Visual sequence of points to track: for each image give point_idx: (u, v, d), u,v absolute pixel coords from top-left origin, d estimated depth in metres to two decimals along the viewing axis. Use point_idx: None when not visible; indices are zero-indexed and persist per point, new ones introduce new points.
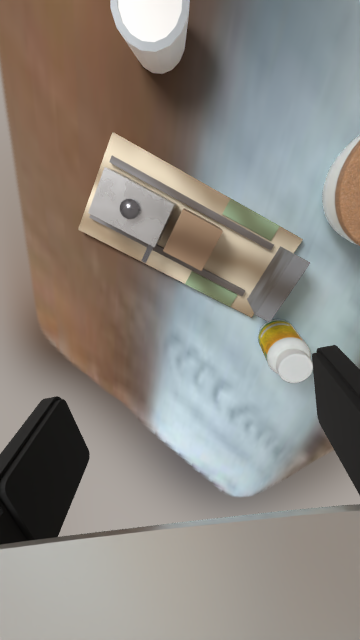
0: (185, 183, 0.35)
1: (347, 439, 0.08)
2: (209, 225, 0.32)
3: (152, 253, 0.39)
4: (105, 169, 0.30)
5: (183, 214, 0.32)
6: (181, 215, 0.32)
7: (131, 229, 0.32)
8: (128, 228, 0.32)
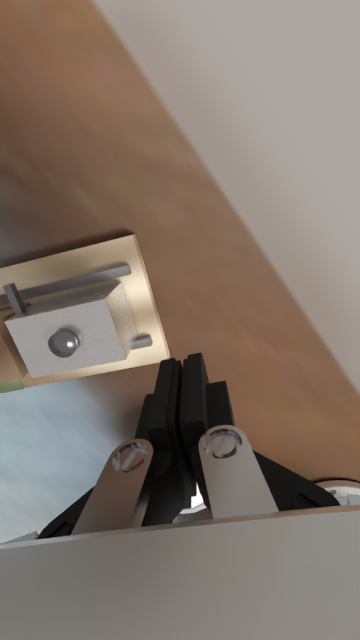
0: None
1: None
2: None
3: (33, 280, 0.26)
4: (123, 358, 0.22)
5: (16, 374, 0.24)
6: (17, 371, 0.24)
7: (44, 320, 0.22)
8: (48, 318, 0.22)
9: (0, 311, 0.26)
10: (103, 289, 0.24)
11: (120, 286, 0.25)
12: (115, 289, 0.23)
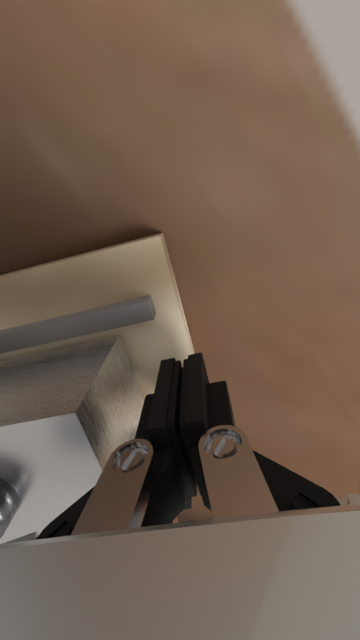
0: None
1: None
2: None
3: None
4: None
5: None
6: None
7: None
8: None
9: None
10: (80, 358, 0.11)
11: (116, 347, 0.12)
12: (105, 362, 0.11)
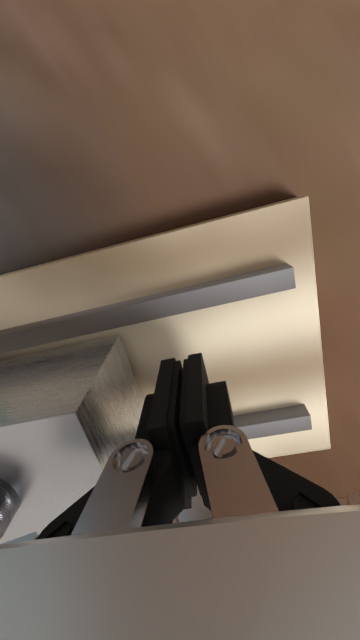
0: None
1: None
2: None
3: (71, 300, 0.12)
4: None
5: None
6: None
7: None
8: None
9: None
10: (80, 358, 0.11)
11: (116, 347, 0.12)
12: (105, 362, 0.11)
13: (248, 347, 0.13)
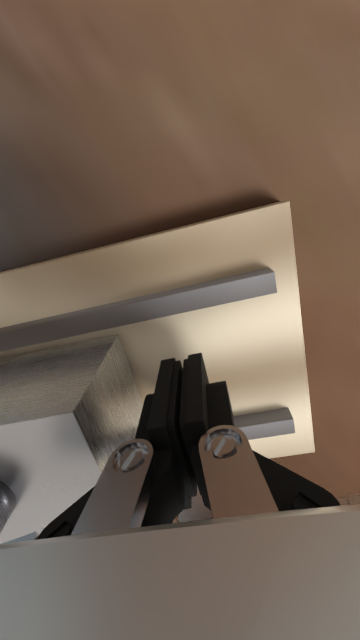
0: None
1: None
2: None
3: (55, 302, 0.12)
4: None
5: None
6: None
7: None
8: None
9: None
10: (78, 357, 0.11)
11: (115, 346, 0.12)
12: (103, 362, 0.10)
13: (232, 351, 0.13)
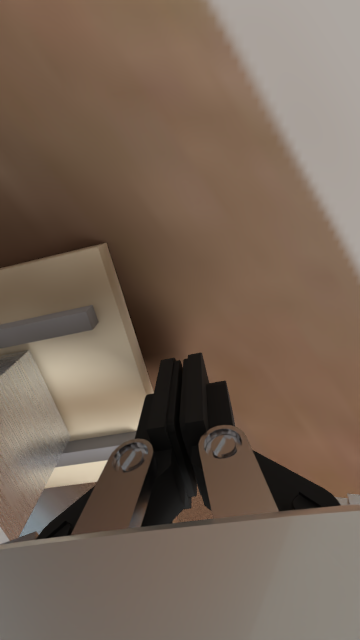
0: None
1: None
2: None
3: None
4: None
5: None
6: None
7: None
8: None
9: None
10: None
11: (22, 363, 0.12)
12: None
13: (75, 379, 0.14)
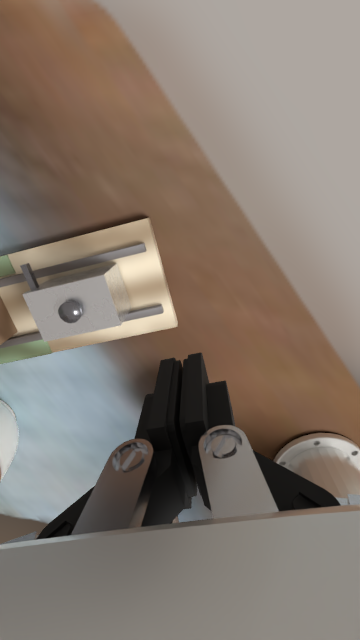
0: (93, 336, 0.34)
1: None
2: None
3: (62, 257, 0.31)
4: (119, 323, 0.28)
5: None
6: None
7: (55, 292, 0.27)
8: (58, 291, 0.27)
9: None
10: (102, 269, 0.29)
11: (116, 266, 0.30)
12: (112, 268, 0.29)
13: (135, 278, 0.31)
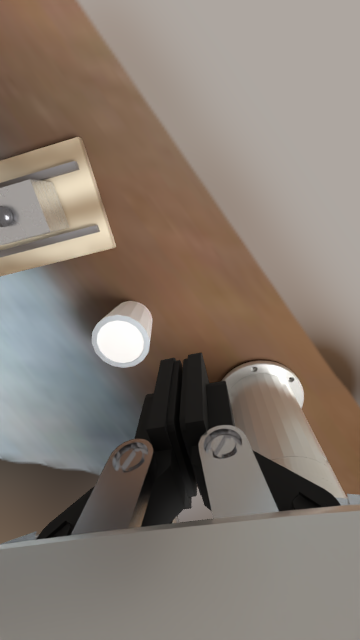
0: (36, 258, 0.37)
1: None
2: None
3: (3, 177, 0.33)
4: (48, 230, 0.30)
5: None
6: None
7: None
8: None
9: None
10: None
11: (50, 184, 0.32)
12: (44, 181, 0.31)
13: (71, 198, 0.34)
